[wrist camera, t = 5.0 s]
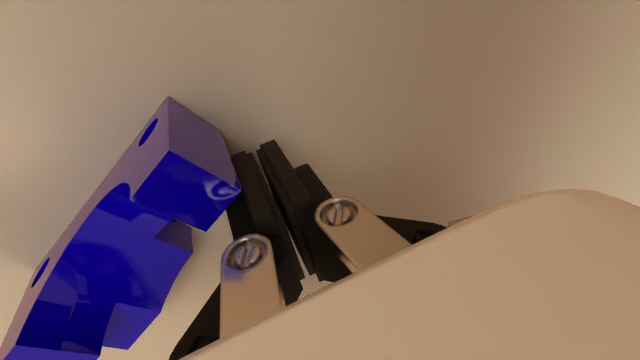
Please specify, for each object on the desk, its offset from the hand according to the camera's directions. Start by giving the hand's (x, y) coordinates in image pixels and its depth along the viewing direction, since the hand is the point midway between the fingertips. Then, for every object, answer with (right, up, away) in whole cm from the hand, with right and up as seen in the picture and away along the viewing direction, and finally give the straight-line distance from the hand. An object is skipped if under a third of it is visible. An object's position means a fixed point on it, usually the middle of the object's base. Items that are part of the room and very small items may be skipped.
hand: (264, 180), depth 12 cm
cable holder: (-4, -1, 0) cm, 4 cm away
